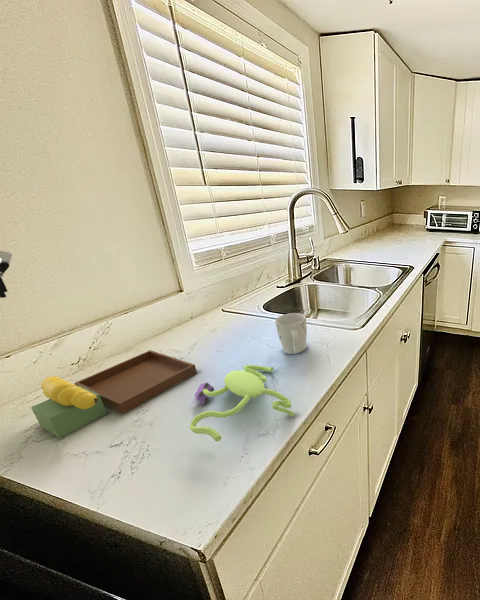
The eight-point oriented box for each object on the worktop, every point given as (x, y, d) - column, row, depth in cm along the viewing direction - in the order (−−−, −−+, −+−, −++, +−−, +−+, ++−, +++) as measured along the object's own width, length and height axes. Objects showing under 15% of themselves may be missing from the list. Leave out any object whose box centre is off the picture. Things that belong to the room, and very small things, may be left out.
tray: (78, 392, 79) (74, 383, 78) (153, 357, 94) (150, 349, 93) (123, 413, 72) (119, 404, 71) (197, 372, 86) (194, 364, 85)
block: (40, 426, 68) (30, 407, 66) (87, 403, 75) (79, 385, 73) (59, 438, 65) (49, 418, 63) (106, 413, 72) (99, 394, 70)
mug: (314, 356, 93) (310, 325, 89) (283, 364, 90) (278, 331, 86) (306, 339, 103) (302, 310, 99) (278, 346, 99) (273, 316, 96)
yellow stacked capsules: (32, 394, 70) (28, 377, 69) (59, 386, 73) (56, 369, 73) (74, 417, 63) (70, 398, 62) (101, 406, 67) (98, 389, 66)
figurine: (196, 464, 59) (189, 440, 57) (192, 388, 80) (187, 369, 78) (299, 424, 68) (295, 402, 66) (271, 365, 89) (267, 347, 87)
